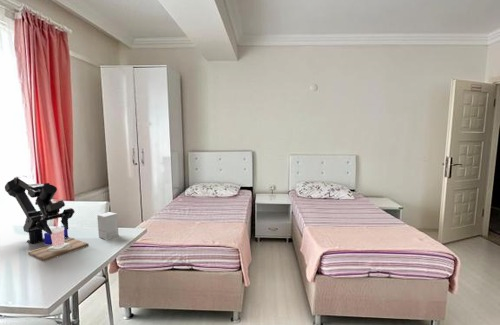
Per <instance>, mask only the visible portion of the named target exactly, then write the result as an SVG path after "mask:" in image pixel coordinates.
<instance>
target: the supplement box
mask: <svg viewBox="0 0 500 325" xmlns="http://www.w3.org/2000/svg"><path fill="white" fill-rule="evenodd" d="M118 221H119V219H118V213H116V212H111V211H108V212H104V213H100V214H97V228H98V229H97V230H98V238H99V239H103V240H105V241H107V240H110V239H113V238H115V237H119V222H118Z"/></svg>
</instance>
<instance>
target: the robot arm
mask: <svg viewBox="0 0 500 325" xmlns="http://www.w3.org/2000/svg"><path fill="white" fill-rule="evenodd" d="M4 190H5V192H6V193H7V194H8V195H9V196H10V197H13V198H15V200H16V201H17V203H18V204H19V206H20V208H21V210H22V212H23V213H24V215H25V216H26V218H25V223H24V225H23V227H22V228H23V232H26V233H28V239H29V240H26V243H29V244H31V245H34V244H36V243H41V242H45V239H44V233H43V232H45V233H49V234H50V235H51V234H52V232H51V229H52V228H50V226H49V225H48V221H50V220H55V219H56V220H57V219H61V220H60V222H61V224H62V226H64V227H65V229H66V230H69V219H71V218H72V217H73V216H74V214H75V212H76V211H75V210H74V208H72V207H71V208H70V207H69V208H67V209H66V208H65V209H63V211H62V212H61V213H60V211H61V209H62V208H64V207H65V206H66V204H65V201H64V200H63V199H62V200H58V201H57V202H52V200H53V199H54V197H55V195H56V193H57V191H58V187H56V186H55V185H54V184H50V183H49V182H46V183H36V182H34V181H33V180H32V179H30V178H29V177H27V175H22V176H21V175H19V176H15V177H13V179H11V180H10V181H7V182H6V184H5V186H4ZM26 191H27V193H26ZM29 197H30V198H36V199H35V205H36V206H37V207H38V209H39V210H36V207H34V205H33V203H32V201H31V199H30V198H29Z"/></svg>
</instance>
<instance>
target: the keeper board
mask: <svg viewBox="0 0 500 325" xmlns="http://www.w3.org/2000/svg"><path fill="white" fill-rule="evenodd" d="M64 243H65V246H64V247H62V248H59V249H53V244H51V245H45V246H42V247H39V248H37V249H33V250H30V251H28V255H29V256H31V257H33V258H35V259H38V260H40V261H42V262H45V261H49V260H52V259H55V258H57V256H58V257H60V256H63V255H66V254H70V253H72V252H74V251H78V250H80V249H83V247H84V248H86V246H87V247H89V243H87V242H85V241H83V240H79V239H75V237H71V238H69V239H64Z"/></svg>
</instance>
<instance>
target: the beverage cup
mask: <svg viewBox="0 0 500 325" xmlns="http://www.w3.org/2000/svg"><path fill="white" fill-rule="evenodd" d="M54 222H55V227H53V228H50V229H51V232H52V234H51V239H52V244H53V249H59V248H62V247H64V246H65V243H64V241H65V238H64V227H61V226H58V223H57V222H58V221H57V218H56V219H54ZM52 244H51V245H52Z"/></svg>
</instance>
